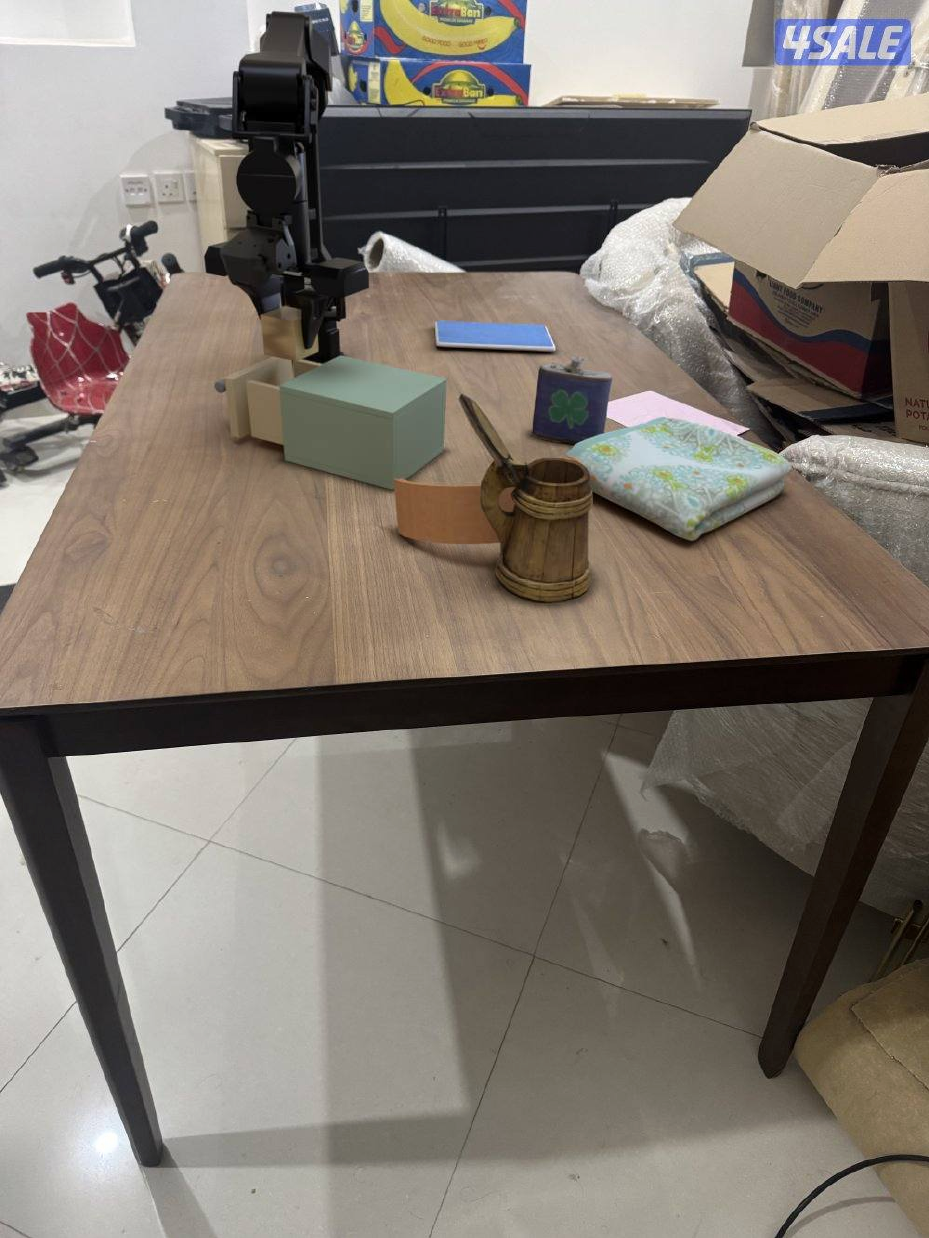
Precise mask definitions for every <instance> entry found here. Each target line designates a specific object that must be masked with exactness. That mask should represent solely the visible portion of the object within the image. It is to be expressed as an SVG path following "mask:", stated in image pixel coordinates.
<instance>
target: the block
mask: <svg viewBox="0 0 929 1238" xmlns="http://www.w3.org/2000/svg"><path fill="white" fill-rule="evenodd" d="M260 323H261V325H260V326H261V335H262V347H263V355H265V356H269V357H272V356H273V357H278V358H282V359H287V360H291V362H293V361H299V360H301V359H303V358H305V357H307V356H310V355H312V354H314V353H316V352H318V333H317V336H316V338H315V341H314V344H313V346H312V348H310V349H308V350H307V349H305V348H304V344H303V338H302V322H301V309H296V308H291V307H286V306H283V307H281V308H278V309H275V310H272V311H270V312H267V313H264V314H262V315H261V320H260Z"/></svg>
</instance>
